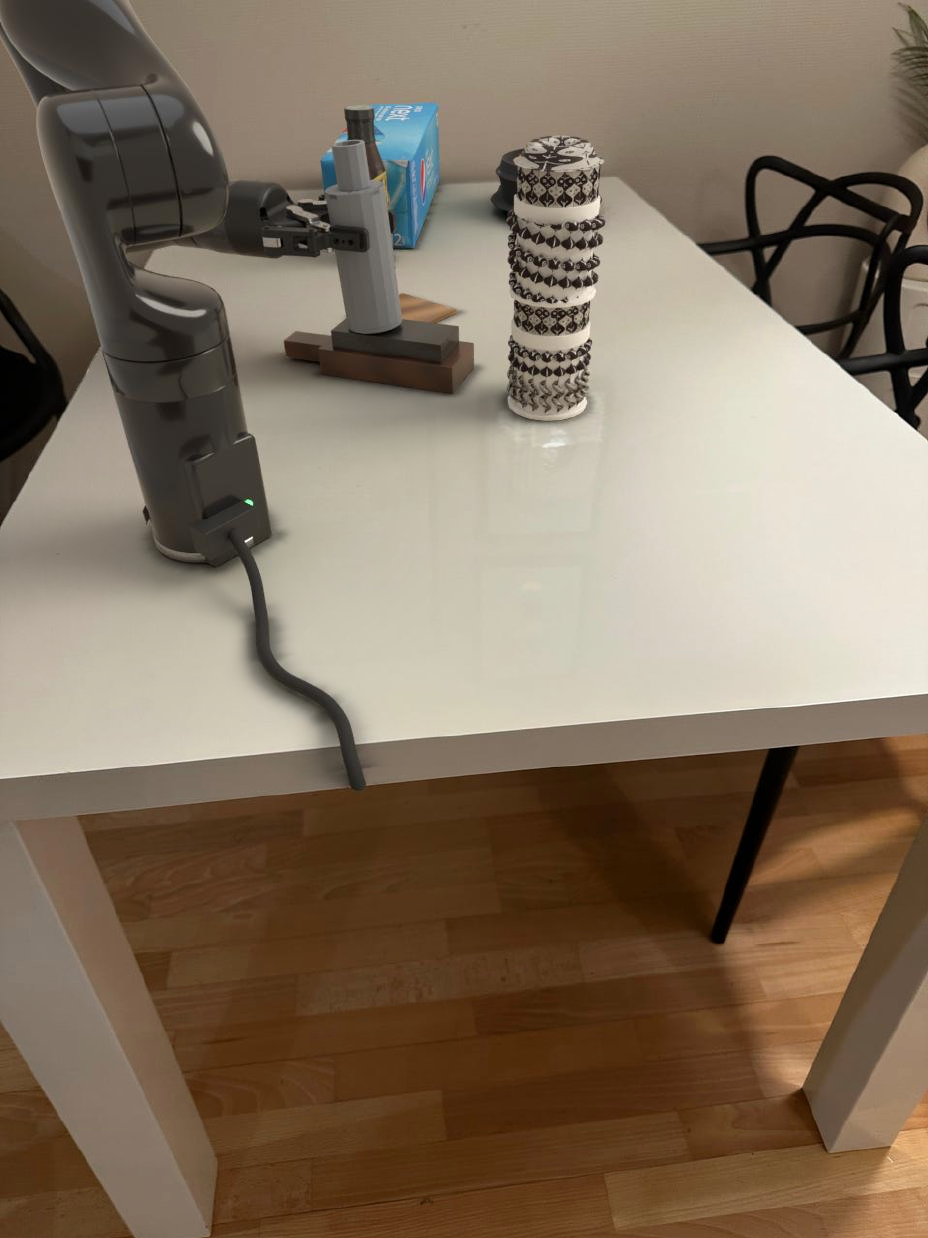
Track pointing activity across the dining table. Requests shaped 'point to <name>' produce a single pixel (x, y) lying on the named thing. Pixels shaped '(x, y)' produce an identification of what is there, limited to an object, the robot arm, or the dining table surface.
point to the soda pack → (403, 164)
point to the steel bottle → (373, 271)
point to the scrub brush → (390, 354)
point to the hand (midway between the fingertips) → (381, 230)
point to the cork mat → (423, 309)
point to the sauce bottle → (366, 139)
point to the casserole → (508, 181)
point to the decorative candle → (553, 276)
